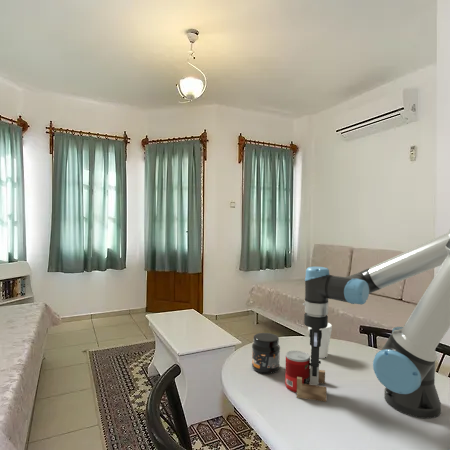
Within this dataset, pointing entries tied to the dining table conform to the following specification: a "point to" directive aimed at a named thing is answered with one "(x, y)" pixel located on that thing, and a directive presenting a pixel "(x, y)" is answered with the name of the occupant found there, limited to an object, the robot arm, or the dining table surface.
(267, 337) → the supplement container
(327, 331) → the foam cup
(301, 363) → the canned food
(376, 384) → the dining table surface
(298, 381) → the chute
